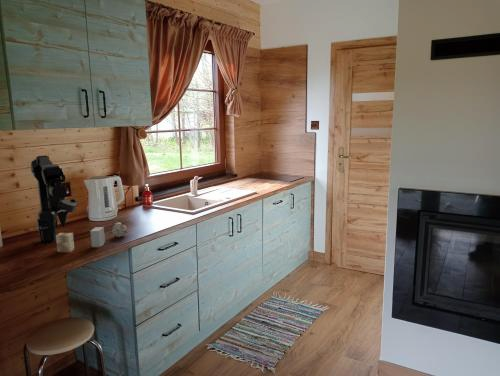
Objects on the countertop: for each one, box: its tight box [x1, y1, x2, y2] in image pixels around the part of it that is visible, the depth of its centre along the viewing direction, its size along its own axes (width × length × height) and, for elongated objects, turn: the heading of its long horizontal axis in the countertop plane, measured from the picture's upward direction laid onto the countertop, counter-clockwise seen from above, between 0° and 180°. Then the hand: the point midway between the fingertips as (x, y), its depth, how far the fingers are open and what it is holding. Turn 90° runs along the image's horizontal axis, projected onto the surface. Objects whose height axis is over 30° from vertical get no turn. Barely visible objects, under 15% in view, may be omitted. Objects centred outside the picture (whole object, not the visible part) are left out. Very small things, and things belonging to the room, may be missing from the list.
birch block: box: [55, 232, 75, 253], centre depth 189 cm, size 6×4×8 cm, turn 87°
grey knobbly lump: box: [110, 220, 129, 240], centre depth 208 cm, size 9×8×10 cm
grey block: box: [89, 226, 106, 248], centre depth 197 cm, size 6×4×8 cm, turn 177°
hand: (58, 229), depth 180 cm, fingers open, 9 cm apart
